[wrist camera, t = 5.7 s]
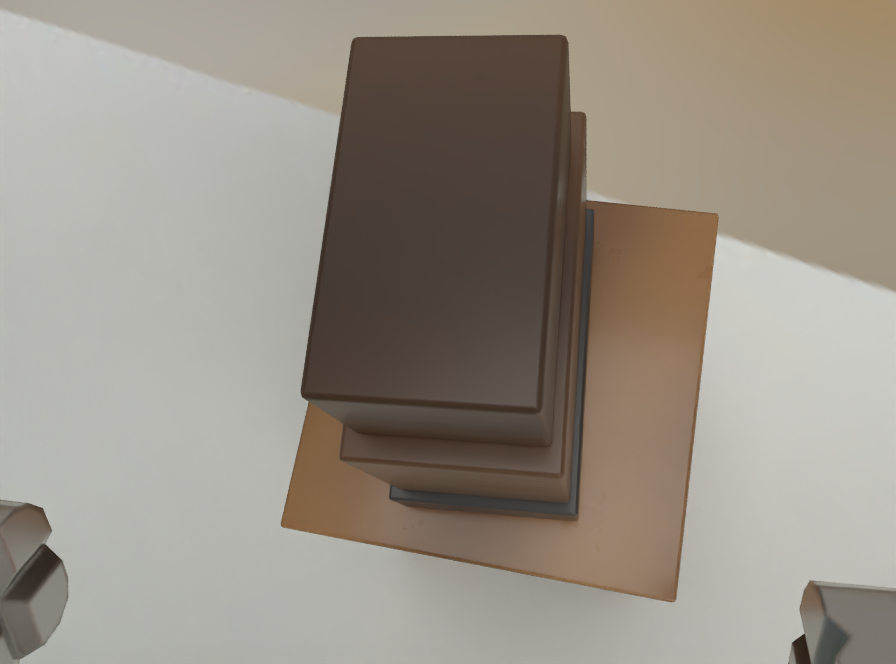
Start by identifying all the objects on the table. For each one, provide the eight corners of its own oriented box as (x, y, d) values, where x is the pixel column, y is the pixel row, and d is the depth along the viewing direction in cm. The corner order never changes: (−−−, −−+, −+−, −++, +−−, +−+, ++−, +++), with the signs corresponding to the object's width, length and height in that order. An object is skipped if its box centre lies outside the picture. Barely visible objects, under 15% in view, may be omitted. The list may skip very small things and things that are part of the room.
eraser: (434, 231, 19) (330, -6, 11) (593, 236, 18) (599, -11, 11) (404, 506, 17) (259, 447, 10) (578, 521, 16) (571, 472, 9)
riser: (400, 547, 29) (278, 526, 17) (443, 325, 31) (359, 175, 19) (638, 593, 27) (675, 603, 16) (667, 355, 29) (719, 212, 18)
